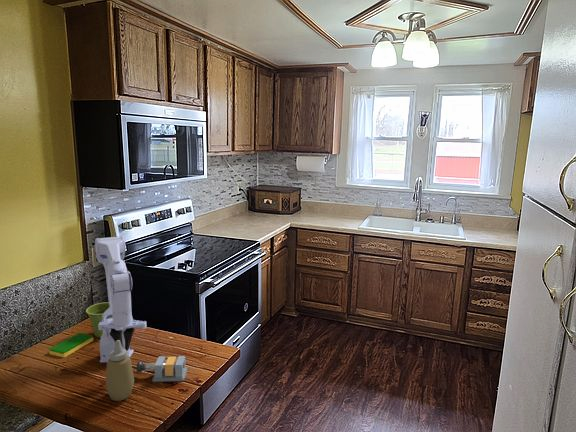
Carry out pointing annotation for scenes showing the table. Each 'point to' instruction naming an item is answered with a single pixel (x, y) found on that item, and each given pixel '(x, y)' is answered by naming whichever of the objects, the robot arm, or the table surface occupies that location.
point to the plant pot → (97, 316)
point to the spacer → (170, 366)
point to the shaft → (147, 366)
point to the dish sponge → (71, 345)
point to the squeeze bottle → (119, 374)
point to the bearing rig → (178, 372)
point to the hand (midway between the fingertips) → (123, 349)
